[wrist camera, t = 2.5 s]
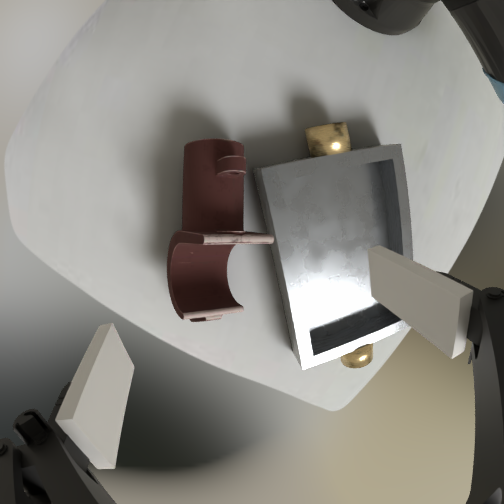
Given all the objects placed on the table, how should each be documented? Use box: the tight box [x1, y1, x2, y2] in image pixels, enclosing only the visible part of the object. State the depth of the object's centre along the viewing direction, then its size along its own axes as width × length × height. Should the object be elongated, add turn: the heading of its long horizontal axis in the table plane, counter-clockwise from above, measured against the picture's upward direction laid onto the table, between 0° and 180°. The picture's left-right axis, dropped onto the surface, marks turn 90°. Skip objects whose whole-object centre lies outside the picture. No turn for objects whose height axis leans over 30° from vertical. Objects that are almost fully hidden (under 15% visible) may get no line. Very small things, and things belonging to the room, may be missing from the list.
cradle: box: [253, 122, 413, 370], centre depth 33 cm, size 29×16×4 cm, turn 13°
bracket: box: [167, 139, 274, 322], centre depth 27 cm, size 6×17×10 cm, turn 178°
